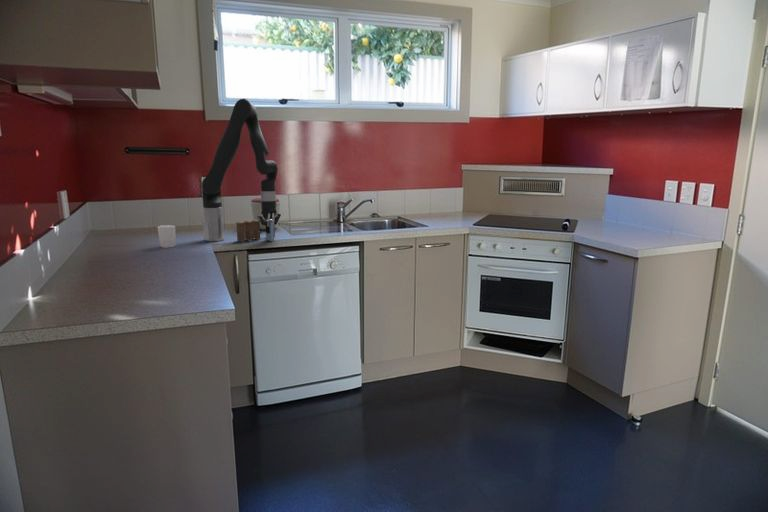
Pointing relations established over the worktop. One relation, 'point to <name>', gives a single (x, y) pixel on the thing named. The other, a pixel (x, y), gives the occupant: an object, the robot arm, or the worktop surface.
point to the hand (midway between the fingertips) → (269, 233)
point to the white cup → (166, 236)
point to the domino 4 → (271, 234)
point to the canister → (257, 210)
